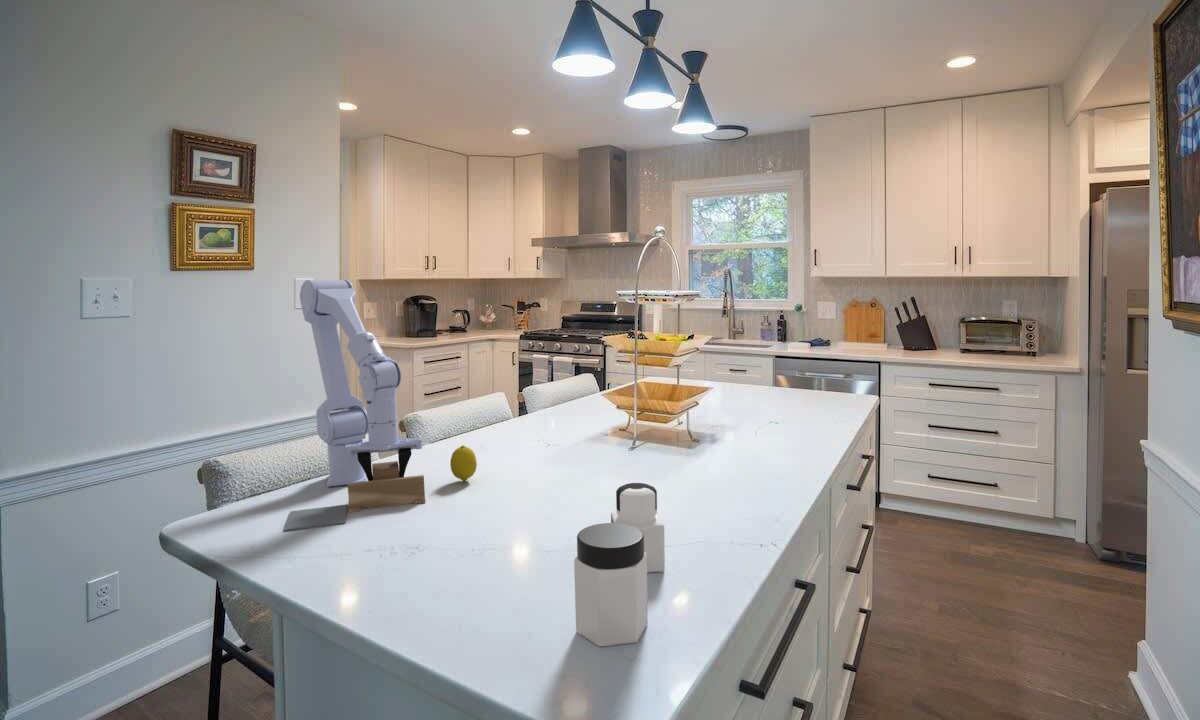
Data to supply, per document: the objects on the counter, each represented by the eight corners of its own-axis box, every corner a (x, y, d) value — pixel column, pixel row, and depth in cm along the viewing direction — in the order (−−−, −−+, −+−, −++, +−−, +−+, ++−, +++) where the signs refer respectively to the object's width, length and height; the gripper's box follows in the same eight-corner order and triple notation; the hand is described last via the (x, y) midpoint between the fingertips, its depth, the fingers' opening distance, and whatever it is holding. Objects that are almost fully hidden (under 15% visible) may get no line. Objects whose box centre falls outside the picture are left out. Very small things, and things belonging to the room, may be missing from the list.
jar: (639, 608, 85) (638, 519, 83) (656, 641, 77) (655, 544, 75) (571, 615, 83) (568, 525, 82) (581, 650, 75) (578, 551, 74)
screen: (349, 507, 126) (348, 482, 125) (424, 497, 130) (423, 473, 130) (349, 512, 123) (347, 486, 122) (425, 502, 127) (424, 477, 127)
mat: (290, 512, 123) (290, 511, 123) (347, 505, 126) (347, 504, 126) (284, 531, 114) (283, 529, 114) (345, 523, 117) (345, 521, 117)
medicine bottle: (611, 554, 101) (610, 480, 100) (656, 552, 102) (656, 478, 100) (616, 575, 94) (615, 495, 93) (665, 572, 95) (664, 493, 93)
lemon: (471, 486, 137) (469, 449, 136) (447, 484, 138) (445, 448, 138) (481, 478, 143) (479, 442, 142) (457, 477, 144) (456, 441, 143)
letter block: (374, 491, 134) (372, 463, 133) (399, 489, 136) (397, 461, 135) (374, 499, 129) (372, 470, 129) (400, 496, 131) (398, 467, 130)
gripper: (343, 428, 125) (347, 496, 126) (421, 421, 129) (424, 487, 131) (344, 421, 131) (349, 486, 133) (418, 415, 136) (422, 477, 138)
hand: (386, 486), depth 132 cm, fingers closed on letter block, 5 cm apart
